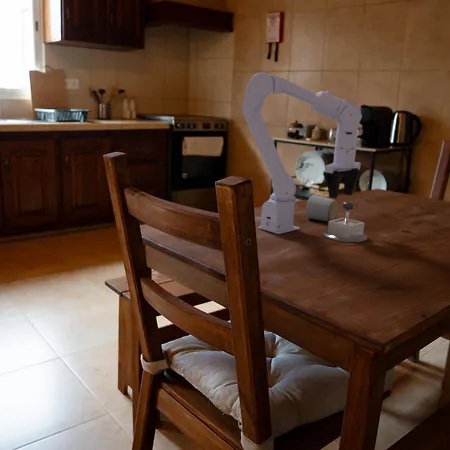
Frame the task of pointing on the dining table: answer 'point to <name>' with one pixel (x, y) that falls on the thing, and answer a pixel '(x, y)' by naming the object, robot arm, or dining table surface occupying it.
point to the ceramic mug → (321, 208)
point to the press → (345, 231)
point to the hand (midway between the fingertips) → (340, 196)
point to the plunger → (347, 213)
